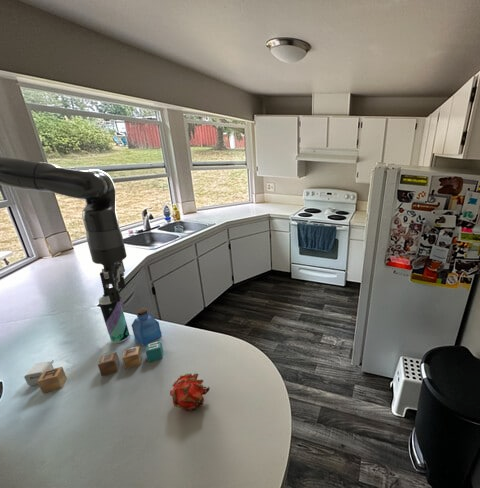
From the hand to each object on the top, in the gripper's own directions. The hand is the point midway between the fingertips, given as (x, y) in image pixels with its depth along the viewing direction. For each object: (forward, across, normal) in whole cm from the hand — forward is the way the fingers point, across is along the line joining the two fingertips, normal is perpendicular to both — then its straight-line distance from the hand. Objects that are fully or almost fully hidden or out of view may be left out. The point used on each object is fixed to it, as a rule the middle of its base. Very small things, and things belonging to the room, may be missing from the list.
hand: (118, 294), depth 75 cm
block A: (+26, +1, -19) cm, 32 cm away
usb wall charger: (+26, -6, -23) cm, 35 cm away
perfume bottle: (+25, -11, +3) cm, 28 cm away
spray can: (+26, -15, -6) cm, 30 cm away
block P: (+25, +1, 0) cm, 25 cm away
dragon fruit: (+25, +25, +16) cm, 39 cm away
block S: (+25, +1, +6) cm, 26 cm away
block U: (+25, +1, -6) cm, 26 cm away
